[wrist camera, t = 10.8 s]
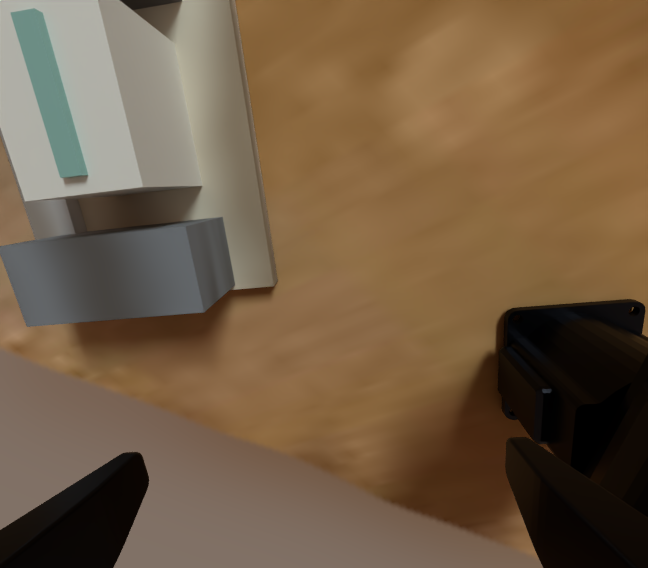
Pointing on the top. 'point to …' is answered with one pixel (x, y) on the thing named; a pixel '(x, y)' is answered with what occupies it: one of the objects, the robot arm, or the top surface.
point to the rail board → (161, 203)
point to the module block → (91, 101)
